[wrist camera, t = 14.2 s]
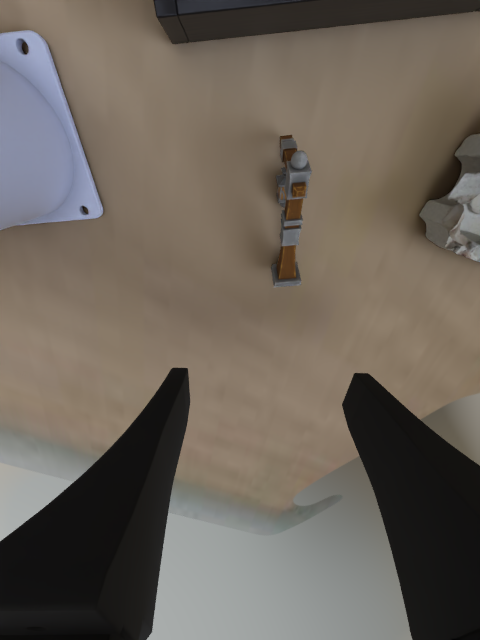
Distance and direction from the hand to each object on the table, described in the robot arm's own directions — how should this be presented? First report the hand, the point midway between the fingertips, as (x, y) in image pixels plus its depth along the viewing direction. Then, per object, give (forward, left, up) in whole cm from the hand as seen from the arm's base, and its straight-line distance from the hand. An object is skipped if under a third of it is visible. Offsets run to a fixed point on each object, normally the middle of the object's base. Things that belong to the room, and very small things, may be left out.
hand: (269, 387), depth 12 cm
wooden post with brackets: (+2, +5, -10) cm, 11 cm away
